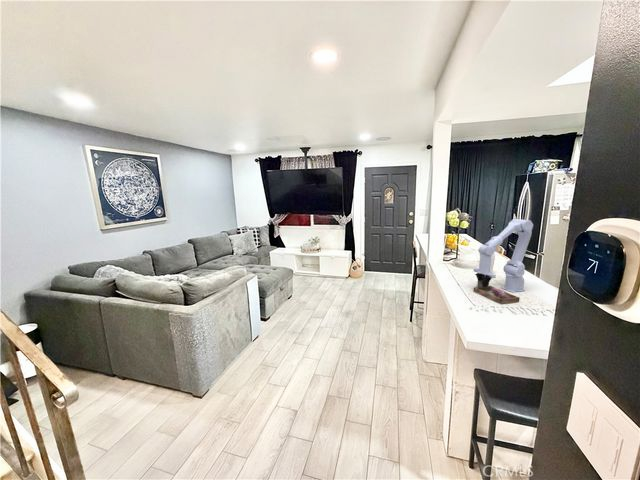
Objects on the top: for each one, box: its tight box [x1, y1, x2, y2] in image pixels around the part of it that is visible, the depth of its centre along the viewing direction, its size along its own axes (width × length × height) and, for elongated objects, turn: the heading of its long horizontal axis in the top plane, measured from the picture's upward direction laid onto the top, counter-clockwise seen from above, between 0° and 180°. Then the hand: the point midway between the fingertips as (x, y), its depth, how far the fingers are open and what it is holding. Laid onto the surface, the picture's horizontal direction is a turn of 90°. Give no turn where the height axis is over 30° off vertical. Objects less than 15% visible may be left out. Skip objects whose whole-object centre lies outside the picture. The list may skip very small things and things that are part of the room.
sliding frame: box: [473, 280, 520, 305], centre depth 150 cm, size 20×12×6 cm, turn 12°
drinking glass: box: [490, 253, 496, 273], centre depth 190 cm, size 7×7×15 cm
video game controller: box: [490, 287, 510, 299], centre depth 147 cm, size 10×5×7 cm, turn 5°
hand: (482, 285), depth 158 cm, fingers open, 3 cm apart
